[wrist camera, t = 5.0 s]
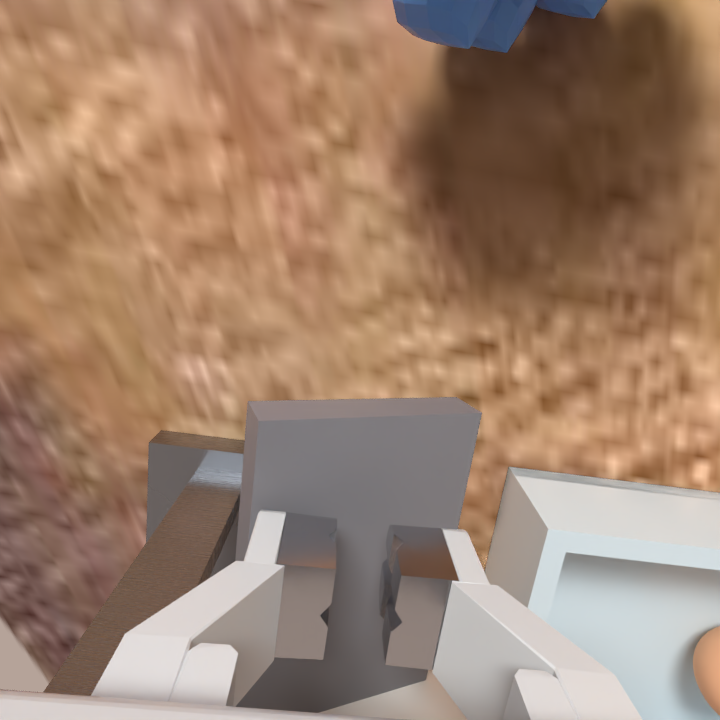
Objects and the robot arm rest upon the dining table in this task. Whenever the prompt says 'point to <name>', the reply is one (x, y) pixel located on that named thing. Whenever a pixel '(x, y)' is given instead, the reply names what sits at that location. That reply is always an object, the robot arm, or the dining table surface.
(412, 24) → the grapes
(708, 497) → the pale blue tray
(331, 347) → the dining table surface
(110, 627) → the trough stand
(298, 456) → the tipping trough
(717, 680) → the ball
